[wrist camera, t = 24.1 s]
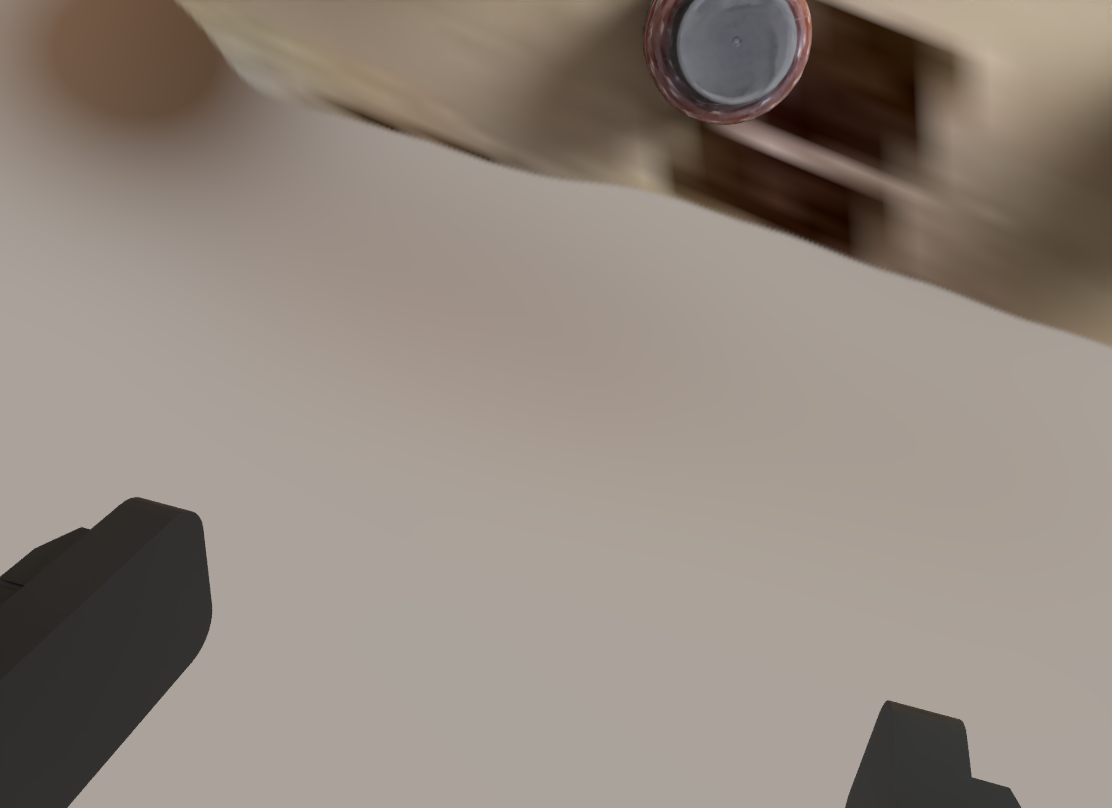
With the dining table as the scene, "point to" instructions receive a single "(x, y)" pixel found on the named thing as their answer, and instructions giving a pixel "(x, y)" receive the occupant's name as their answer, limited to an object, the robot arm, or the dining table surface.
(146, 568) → the robot arm
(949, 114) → the dining table surface
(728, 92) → the supplement bottle
